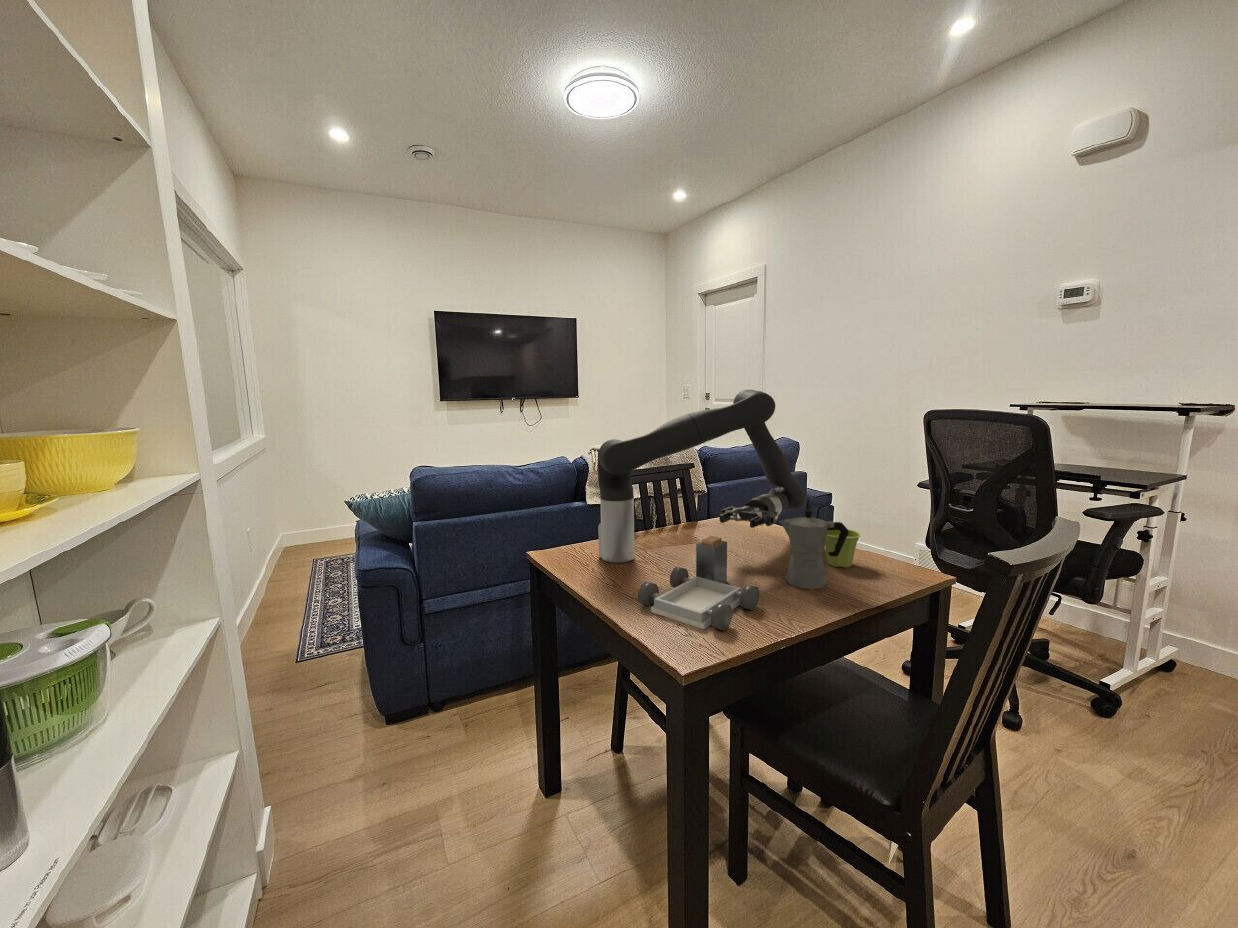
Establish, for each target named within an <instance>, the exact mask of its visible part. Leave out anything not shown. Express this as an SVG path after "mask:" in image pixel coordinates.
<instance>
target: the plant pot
mask: <svg viewBox="0 0 1238 928" xmlns="http://www.w3.org/2000/svg"><path fill="white" fill-rule="evenodd" d="M847 529H848V528H847ZM840 533H841V532H840V531H839V530H828V533H827V538H826V543H825V547H824V550H825V558H826V563H827V564H828V565H829V566H832V567H835V568H840V567H843V568H846V569H847V568H849V567H850V568H851V566H852V565H853V561H854V556H855V551H856V549H857V548H856V547H857V543H858V542H859V538H860V537H861V533H860V532H858V531H856V530H853V529H848V536H847V537H846V540H845V542H844V544H843V546H842V548H841V551H840V553H839V555H838V556H830V555H829V553H828V552H834V551H835V545H836V543H837V541H838V537H839V534H840Z"/></svg>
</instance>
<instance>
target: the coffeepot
mask: <svg viewBox="0 0 1238 928" xmlns="http://www.w3.org/2000/svg"><path fill="white" fill-rule="evenodd" d="M812 513H813V511H812V510H811V509H806V510H804V514H805V516H804V517H803V516H800V517H799V516H798V517H793V518H786V519H780V521H778V523H779V524H780V525H781V526H782V528H783V529H784V530H785V532H786V534H787V536H788V538H789V546H790V548H791V555H790V557H789V558H790V559H789V561H788V567H787V571H786V575H785V580H786V582H787V583H788V584H789V585H790V586H792V587H794V588H798V589H802V590H820V589H823V588H824V587H825V586H826V585H827V578H826V571H825V564H824V558H823V557H822V555H823V553H822V552H823V551H825V543H826V538H827V533H828V530H839V531H840V532H841V533H840V534H839V537H838V541H837V543H836V545H835V551H834V552H828V553H829V555H830V556H838V555H839V553H840V551H841V548H842V546H843V544H844V542H845V540H846V537H847V536H848V528H847V527H846V526H845V525H844V523H842V522H841V521H826V520H825V519H824V520H823V519H821V518H817V517H812Z"/></svg>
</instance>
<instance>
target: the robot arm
mask: <svg viewBox="0 0 1238 928" xmlns="http://www.w3.org/2000/svg"><path fill="white" fill-rule="evenodd" d="M775 411H776V402H775V399H774V398H773V397H772V395H770V394H768V393H766V392H765V391H760V390H756V389H744V390H742V391H740V392H738V393H737V394H736V395H735V396H734V399H733V402H732V404H730V405H728V406H722V407H717V408H711V409H709V408H708V409H703V410H697V411H693V412H689V413H685V414H684V415H681V416H678V417H675V418H673V419H671V420H669V421H667V422H665V423H664V424H662V425H660V426H659V427H657V428H656V429H654V430H652V431H650V432H648V433H647V434H646V433H645V434H644V435H641V436H637V437H634V438H631V439H625V440H620V439H617V438H615V439H614V438H613V439H609V440H606V441H604V442H603V443H602V444H601V445H600V447H599V449H598V451H597V452H598V453H597V473H598V474H597V475H598V476H597V477H598V487H599V496H600V500H599V501H600V523H599V524H598V528H597V529H598V532H597V533H598V557H599V558H601V560H603V561H605V562H608V563H613V564H615V563H617V564H618V563H619V564H620V563H627V562H630V561H632V560H634V559H635V508H634V506H635V505H634V503H635V502H634V497H635V495H634V487H633V483H632V478H631V477H632V475H631V474H632V473H631V472H632V471H635V470H636V469H638V468H640V467H642V466H645V465H646V464H649V463H650V462H653V461H655V460H658V459H661V458H664V457H668V456H672V455H674V454H678V453H681V452H684V451H687V450H689V449H692V448H695V447H697V446H700V445H702V444H705V443H707V442H710V441H712V440H715V439H717V438H720V437H722V436H724V435H725V436H726V434H727V435H728V434H730V433H732V432H735V431H738V430H742V429H744V430H745V432H746V434H747V436H748V438H749V440H750V441H751V445H752V446H753V448H754V449H755V453H756V454H757V457H758V459H759V462H760V464H761V467H762V469H763V472H764V474H765V477H766V479H767V482H768V483H769V484H770V485H772V486H776V487H774V488H772V489H770V490H769V492H768V493H766V494H765V493H764V494H761V495H759V496H757V497H753V498H751V499H749V500H747V502H746V503H745V505H744V506H742V507H735V505H731V506H727V507H725V508H722V509H720V514H719V522H720V524H724V523H727V522H729V521H734V522H749V527H750V529H751V528H752V529H754V528H756V527H758V526H760V527H762V526H764V525H765V526H766V527H770V526H773V525H774V524H775V523H776V524H777V522H778V518H779V516H780V515H783V514H784V513H785V512H786V511H787V510H799V509H802V508H803V507H805V505H806V503H807V502H806V501H807V495H806V493H805V491H804V488H803V487H802V486H801V484H800V483H799V482H798V481H797V479H796V478H795V477H794V475H793V474H792V472H791V471H790V468H789V465H788V462H787V459H786V456H785V455H784V452H783V451H782V449H781V447H780V446H779V444H778V442H776V440H775V439H774V437H773V436H772V434H771V432H770V430H769V428H768V427H767V424H766V422H767V421H768V420H770V419H771V418H772V417H773V415H774V413H775ZM777 486H778V487H777Z"/></svg>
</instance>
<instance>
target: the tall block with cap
mask: <svg viewBox="0 0 1238 928" xmlns="http://www.w3.org/2000/svg"><path fill="white" fill-rule="evenodd" d="M695 547H696V549H695V550H696V551H695V554H696V555H695V577H700V578H704V579H708V580H712V581H716V582H720V583H724V584H725V583H726V582H727V581H728V580H727V579H728V577H727V575H728V573H727V572H728V541H726V540H725V541H724V540H722V537H718V536H712V535H710V536H707V537H705V538H702V540H701V541H699V542H698V543H696V544H695Z"/></svg>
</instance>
